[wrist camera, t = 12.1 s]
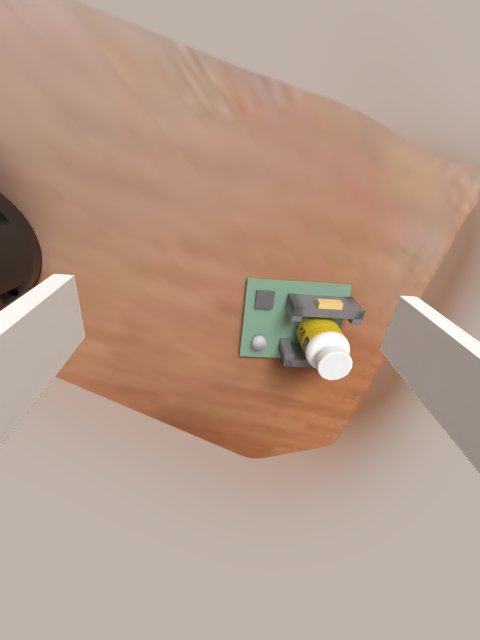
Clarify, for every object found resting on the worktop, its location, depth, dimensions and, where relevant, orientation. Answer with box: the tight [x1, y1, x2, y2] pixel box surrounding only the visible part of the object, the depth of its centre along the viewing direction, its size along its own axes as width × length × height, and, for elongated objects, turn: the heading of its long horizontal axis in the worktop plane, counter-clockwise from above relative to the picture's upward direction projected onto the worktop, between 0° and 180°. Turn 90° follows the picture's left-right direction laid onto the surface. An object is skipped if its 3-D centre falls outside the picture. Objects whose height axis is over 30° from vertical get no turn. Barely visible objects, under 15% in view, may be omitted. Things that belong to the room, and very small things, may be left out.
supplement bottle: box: [295, 316, 352, 380], centre depth 39 cm, size 5×5×10 cm
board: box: [239, 278, 352, 358], centre depth 43 cm, size 14×12×2 cm
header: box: [278, 293, 365, 368], centre depth 41 cm, size 9×10×4 cm
